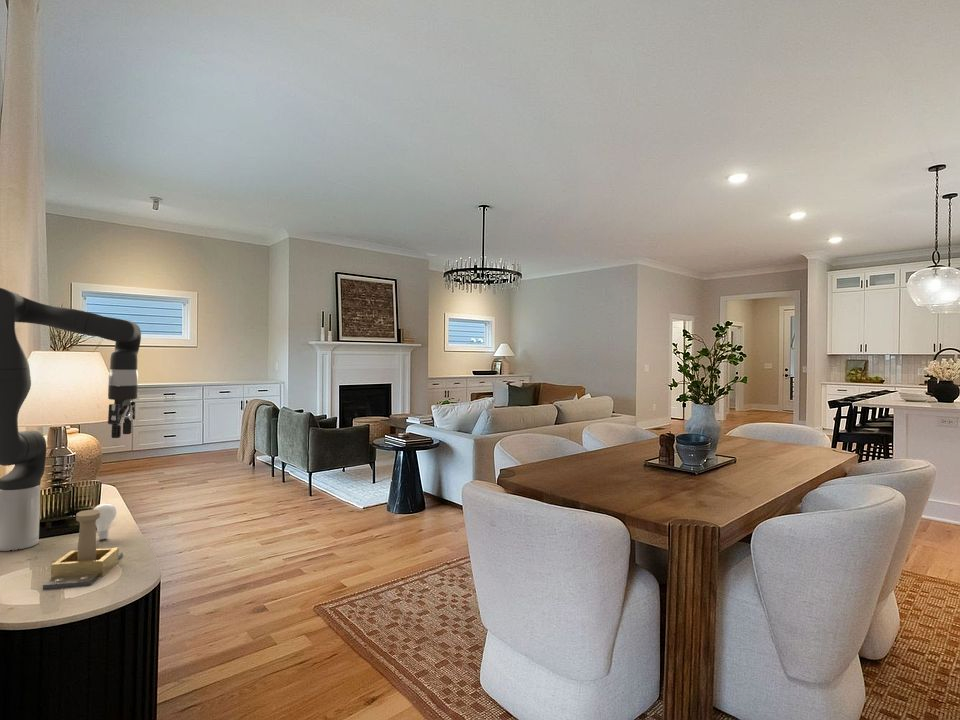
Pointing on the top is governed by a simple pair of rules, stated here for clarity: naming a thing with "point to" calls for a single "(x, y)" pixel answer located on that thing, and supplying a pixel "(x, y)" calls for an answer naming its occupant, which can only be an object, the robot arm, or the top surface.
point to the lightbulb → (105, 519)
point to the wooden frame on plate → (81, 568)
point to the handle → (87, 534)
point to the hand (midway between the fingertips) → (121, 435)
